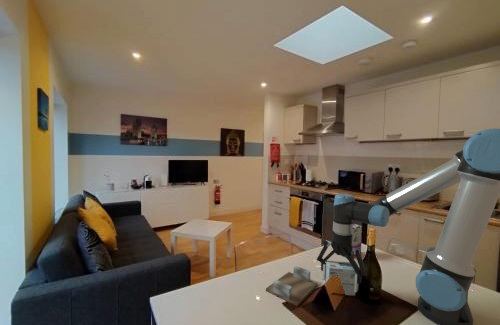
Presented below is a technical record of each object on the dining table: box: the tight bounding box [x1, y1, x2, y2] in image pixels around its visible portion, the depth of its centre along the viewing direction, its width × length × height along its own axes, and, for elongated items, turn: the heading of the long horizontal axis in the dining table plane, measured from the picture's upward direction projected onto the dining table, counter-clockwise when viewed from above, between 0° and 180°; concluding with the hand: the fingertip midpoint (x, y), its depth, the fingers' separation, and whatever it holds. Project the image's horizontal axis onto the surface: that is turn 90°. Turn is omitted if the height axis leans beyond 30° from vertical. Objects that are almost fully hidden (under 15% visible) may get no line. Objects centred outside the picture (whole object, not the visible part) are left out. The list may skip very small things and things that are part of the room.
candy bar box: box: [344, 223, 363, 258], centre depth 131 cm, size 11×5×16 cm, turn 119°
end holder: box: [265, 265, 319, 307], centre depth 97 cm, size 14×18×5 cm
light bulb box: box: [324, 260, 356, 297], centre depth 96 cm, size 11×7×11 cm, turn 84°
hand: (339, 284), depth 96 cm, fingers closed on light bulb box, 12 cm apart
